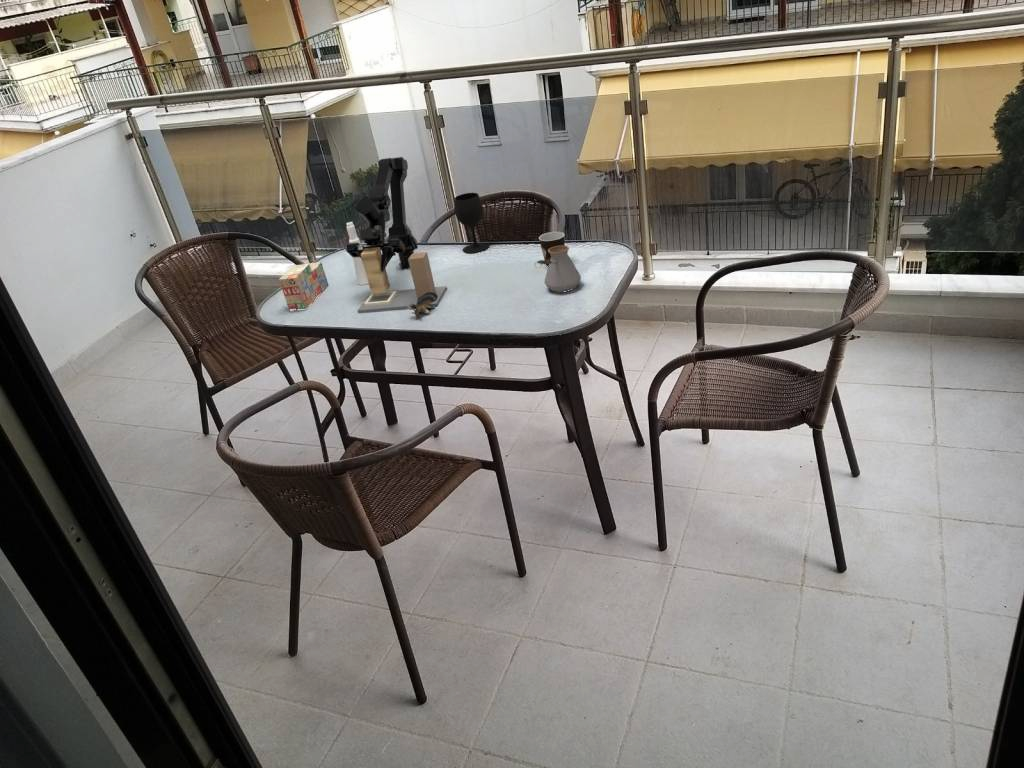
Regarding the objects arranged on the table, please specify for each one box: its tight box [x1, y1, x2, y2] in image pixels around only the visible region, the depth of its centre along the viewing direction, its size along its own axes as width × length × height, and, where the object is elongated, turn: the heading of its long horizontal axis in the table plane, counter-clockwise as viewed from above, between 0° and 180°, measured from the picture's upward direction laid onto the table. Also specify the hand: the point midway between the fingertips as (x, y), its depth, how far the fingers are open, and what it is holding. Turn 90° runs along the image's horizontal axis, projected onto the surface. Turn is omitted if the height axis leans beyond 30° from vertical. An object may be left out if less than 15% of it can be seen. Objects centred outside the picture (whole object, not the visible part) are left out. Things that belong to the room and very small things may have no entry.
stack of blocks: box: [278, 261, 329, 310], centre depth 266 cm, size 21×6×12 cm, turn 171°
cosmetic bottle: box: [346, 221, 369, 286], centre depth 269 cm, size 6×6×22 cm
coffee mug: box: [538, 231, 566, 267], centre depth 258 cm, size 12×9×10 cm
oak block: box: [361, 247, 391, 294], centre depth 250 cm, size 5×5×14 cm
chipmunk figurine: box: [407, 292, 438, 320], centre depth 239 cm, size 8×7×9 cm
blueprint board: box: [356, 251, 448, 314], centre depth 249 cm, size 14×27×15 cm, turn 81°
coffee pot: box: [534, 245, 582, 293], centre depth 233 cm, size 21×12×15 cm, turn 154°
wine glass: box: [453, 192, 491, 255], centre depth 281 cm, size 10×10×20 cm
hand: (374, 271), depth 249 cm, fingers closed on oak block, 5 cm apart
